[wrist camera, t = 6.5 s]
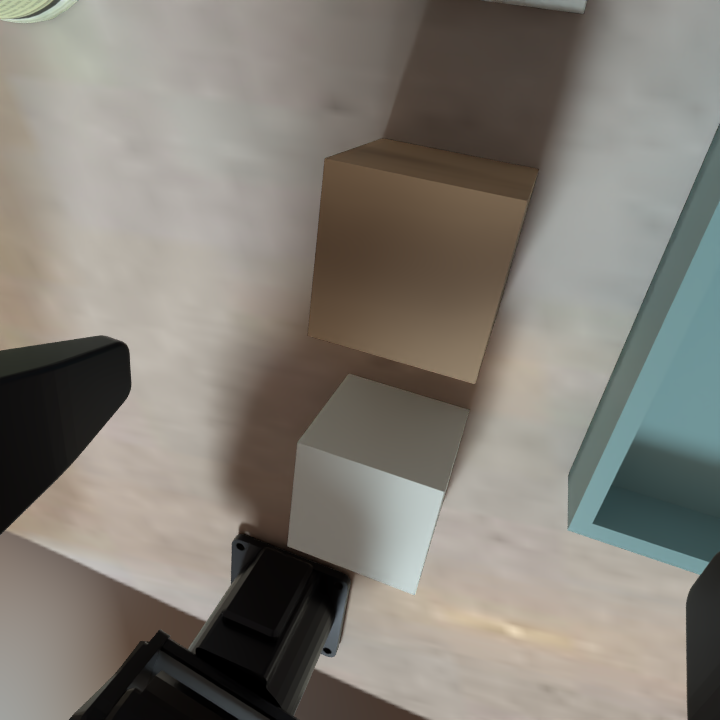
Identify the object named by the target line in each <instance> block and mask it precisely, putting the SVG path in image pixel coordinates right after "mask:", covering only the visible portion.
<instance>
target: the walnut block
mask: <svg viewBox="0 0 720 720" xmlns="http://www.w3.org/2000/svg"><path fill="white" fill-rule="evenodd" d="M538 171H539V169H536V168H531V167H526V166H521V165H516V164H511V163H506V162H501V161H496V160H491V159H486V158H481V157H475V156H470V155H465V154H460V153H455V152H450V151H445V150H440V149H435V148H430V147H425V146H420V145H415V144H409V143H404V142H399V141H394V140H389V139H384V138H382V139H379V140H376V141H373V142H371V143H368V144H365V145H362V146H359V147H356V148H353V149H350V150H348V151H345V152H342V153H339V154H336V155H333V156H330V157H327V158H325V161H324V171H323V181H322V192H321V202H320V212H319V223H318V233H317V243H316V253H315V264H314V274H313V284H312V295H311V305H310V315H309V326H308V336H310V337H313V338H317V339H320V340H324V341H327V342H331V343H334V344H338V345H341V346H345V347H348V348H351V349H355V350H358V351H362V352H365V353H369V354H372V355H376V356H379V357H382V358H386V359H389V360H393V361H396V362H400V363H403V364H407V365H410V366H413V367H417V368H420V369H424V370H427V371H431V372H434V373H438V374H441V375H444V376H448V377H451V378H455V379H458V380H462V381H465V382H469V383H472V384H475V383H476V380H477V377H478V374H479V370H480V367H481V364H482V361H483V358H484V354H485V351H486V348H487V345H488V342H489V339H490V335H491V332H492V329H493V326H494V323H495V320H496V316H497V313H498V309H499V306H500V302H501V299H502V296H503V292H504V289H505V285H506V282H507V278H508V275H509V271H510V268H511V264H512V261H513V257H514V254H515V250H516V247H517V244H518V240H519V237H520V233H521V230H522V226H523V223H524V219H525V216H526V212H527V209H528V205H529V202H530V199H531V195H532V192H533V188H534V185H535V181H536V178H537V174H538Z"/></svg>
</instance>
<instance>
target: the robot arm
mask: <svg viewBox="0 0 720 720" xmlns="http://www.w3.org/2000/svg"><path fill="white" fill-rule="evenodd" d="M130 390H131V370H130V353H129V349H128V346H127V345H126V344H125V343H124V342H122V341H119V340H116V339H113V338H111V337H108V336H102V335H101V336H93V337H87V338H80V339H74V340H67V341H61V342H54V343H47V344H41V345H34V346H28V347H21V348H15V349H8V350H1V351H0V535H1V534H2V533H3V532H4V531H5V530H6V529H7V528H8V527H9V526H10V525H11V524H12V523H13V522H14V521H15V520H16V519H17V518H18V517H19V516H20V515H21V514H22V513H23V512H24V511H25V510H26V509H27V508H28V507H29V506H30V505H31V504H32V503H33V502H34V501H35V500H36V499H37V498H39V497H40V496H41V495H42V494H43V493H44V492H45V491H46V490H47V489H48V488H49V487H50V486H51V485H52V484H53V483H54V482H55V481H56V480H57V479H58V478H59V477H60V476H61V475H62V474H63V473H64V472H65V471H66V470H67V469H68V468H69V466H70V465H71V464H72V463H73V462H74V461H75V460H76V459H77V457H78V456H79V455H80V454H81V453H82V452H83V450H84V449H85V448H86V447H87V446H88V444H89V443H90V442H91V441H92V440H93V438H94V437H95V436H96V435H97V434H98V432H99V431H100V430H101V429H102V428H103V426H104V425H105V424H106V423H107V422H108V421H109V419H110V418H111V417H112V416H113V415H114V413H115V412H116V411H117V410H118V409H119V407H120V406H121V405H122V404H123V403H124V401H125V400H126V399H127V397H128V395H129V393H130ZM350 584H351V580H350V578H349V577H348V576H347V575H346V574H344V573H342V572H339V571H337V570H334V569H331V568H329V567H326V566H324V565H321V564H318V563H316V562H313V561H311V560H308V559H306V558H303V557H300V556H298V555H295V554H293V553H290V552H288V551H285V550H282V549H280V548H277V547H275V546H272V545H270V544H267V543H264V542H262V541H259V540H257V539H254V538H252V537H249V536H246V535H243V534H238V535H237V536H236V537H235V539H234V540H233V542H232V564H231V586H230V587H229V589H228V590H227V592H226V593H225V595H224V596H223V598H222V599H221V601H220V602H219V604H218V605H217V607H216V608H215V610H214V611H213V613H212V614H211V616H210V617H209V619H208V620H207V622H206V623H205V625H204V626H203V628H202V629H201V631H200V632H199V634H198V635H197V636H196V638H195V639H194V641H193V643H192V644H191V645H190V647H189V648H188V649H186V648H184V647H183V646H181V645H180V644H178V643H177V642H175V641H174V640H172V639H170V638H169V637H170V635H168V634H167V633H165V632H164V631H162V630H159V631H158V632H157V633H156V635H155V636H154V637H153V638H152V639H151V640H150V642H146V641H140V642H139V644H138V645H137V646H136V648H135V649H134V650H133V652H132V653H131V654H130V655H129V657H128V658H127V659H126V661H125V662H124V663H123V665H122V666H121V667H120V668H119V670H118V671H117V672H116V673H115V674H114V675H113V676H112V677H111V678H110V679H109V680H108V681H107V682H106V683H105V684H104V685H103V686H102V687H101V688H100V689H99V690H98V691H97V692H96V693H95V694H94V695H93V696H92V697H91V698H90V699H89V700H88V701H87V702H86V703H85V704H84V705H83V706H82V707H81V708H80V709H79V710H78V711H76V712H75V713H74V715H73V716H72V717H71V718H70V719H69V720H299V719H297V718H296V717H294V713H295V711H296V709H297V707H298V704H299V702H300V700H301V697H302V695H303V693H304V691H305V688H306V686H307V684H308V681H309V679H310V677H311V675H312V672H313V670H314V668H315V665H316V663H317V661H318V658H319V656H320V654H323V655H325V656H328V657H334V656H335V655H336V652H337V650H338V647H339V642H340V637H341V631H342V626H343V621H344V616H345V610H346V605H347V600H348V595H349V589H350ZM686 660H687V716H688V720H720V551H719V552H718V553H716V555H715V556H714V557H713V558H712V559H711V561H710V562H709V564H708V565H707V566H706V568H705V569H704V571H703V572H702V573H701V575H700V576H699V577H698V579H697V580H696V582H695V583H694V584H693V586H692V587H691V589H690V591H689V594H688V597H687V602H686Z"/></svg>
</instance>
